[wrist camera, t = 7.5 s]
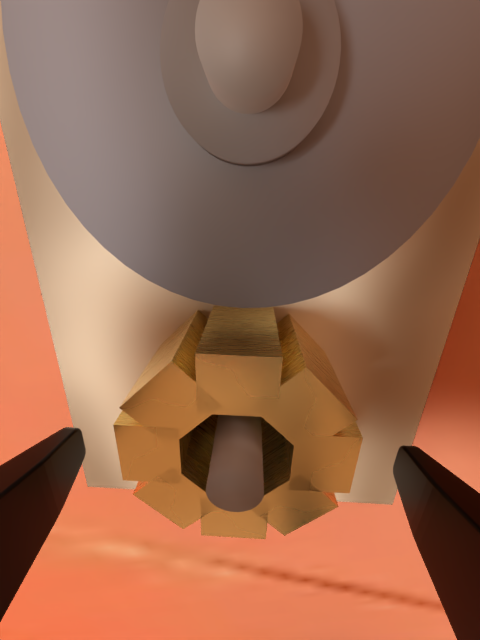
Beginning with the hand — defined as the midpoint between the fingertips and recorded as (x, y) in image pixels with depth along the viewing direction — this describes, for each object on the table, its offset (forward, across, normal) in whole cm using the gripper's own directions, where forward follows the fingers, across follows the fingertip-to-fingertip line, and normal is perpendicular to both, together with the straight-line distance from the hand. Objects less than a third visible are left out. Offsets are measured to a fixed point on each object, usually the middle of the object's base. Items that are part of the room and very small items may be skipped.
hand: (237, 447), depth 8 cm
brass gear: (+3, 0, 0) cm, 3 cm away
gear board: (+4, 0, -4) cm, 6 cm away
